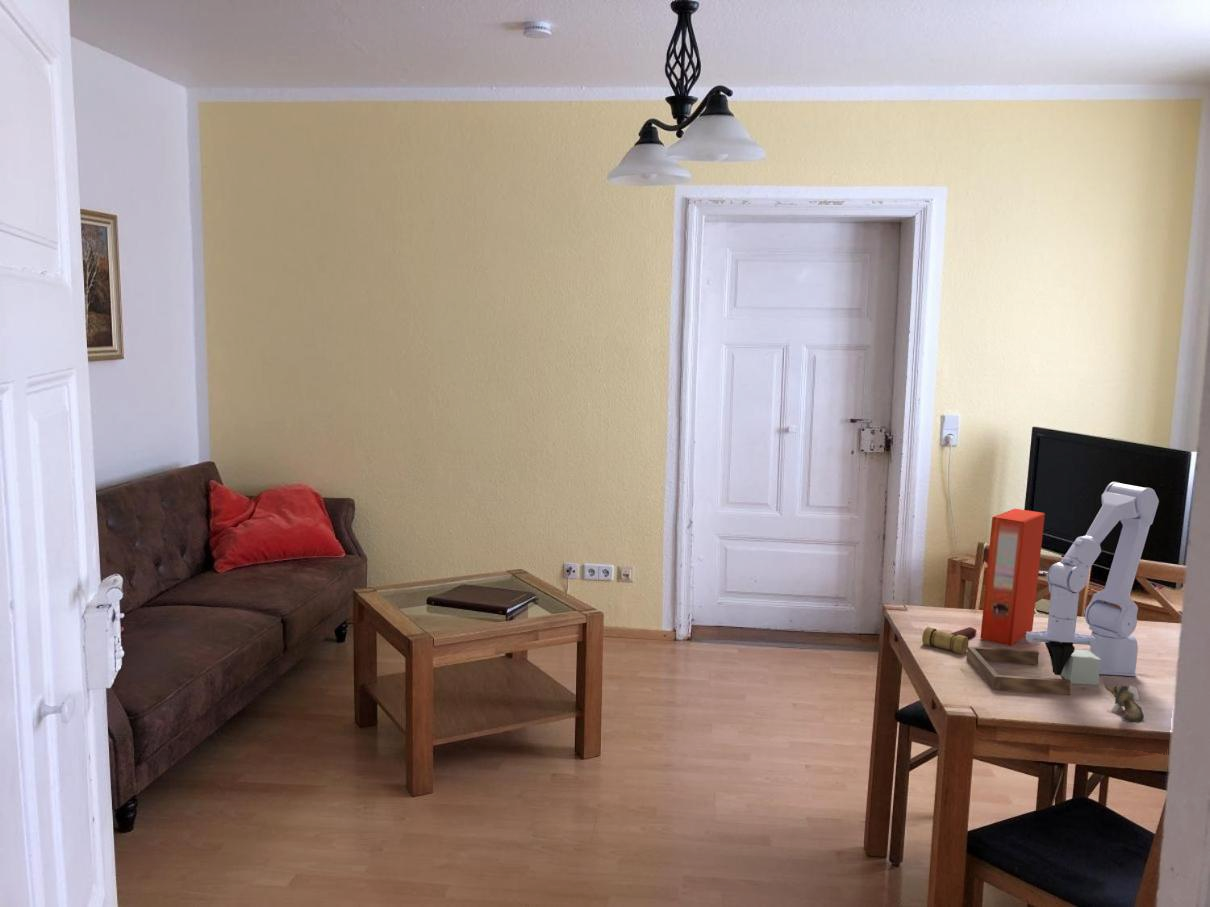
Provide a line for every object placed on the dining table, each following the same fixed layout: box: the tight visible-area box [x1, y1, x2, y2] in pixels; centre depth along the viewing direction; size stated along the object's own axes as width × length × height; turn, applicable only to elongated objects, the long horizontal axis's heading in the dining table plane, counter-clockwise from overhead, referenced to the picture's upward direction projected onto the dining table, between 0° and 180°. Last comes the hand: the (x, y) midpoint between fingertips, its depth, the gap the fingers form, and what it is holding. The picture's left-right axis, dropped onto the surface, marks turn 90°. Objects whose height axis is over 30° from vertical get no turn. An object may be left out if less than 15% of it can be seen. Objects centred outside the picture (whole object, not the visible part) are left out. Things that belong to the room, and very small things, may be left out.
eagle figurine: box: [1103, 682, 1145, 724], centre depth 200 cm, size 8×7×9 cm
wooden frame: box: [966, 645, 1072, 695], centre depth 220 cm, size 16×20×3 cm
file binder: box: [979, 508, 1046, 647], centre depth 248 cm, size 8×17×32 cm, turn 140°
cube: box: [1060, 649, 1101, 686], centre depth 219 cm, size 6×6×6 cm
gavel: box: [921, 626, 977, 655], centre depth 244 cm, size 21×5×10 cm
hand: (1056, 673), depth 220 cm, fingers closed
